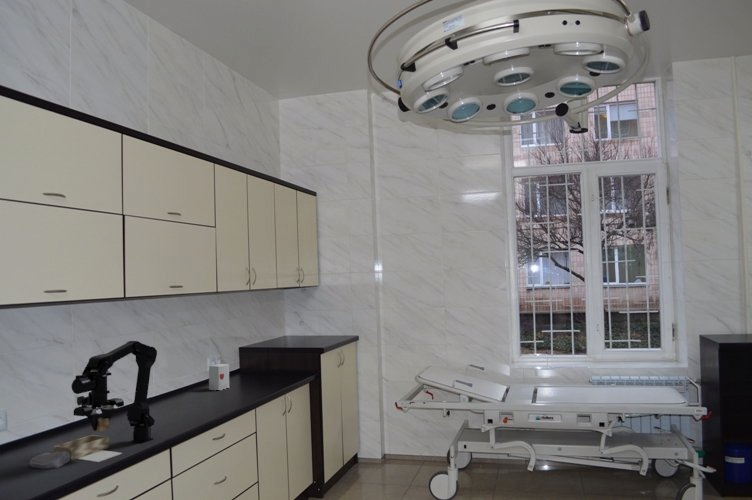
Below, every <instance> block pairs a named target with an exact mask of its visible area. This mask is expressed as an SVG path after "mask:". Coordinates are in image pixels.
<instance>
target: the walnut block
mask: <svg viewBox="0 0 752 500" xmlns="http://www.w3.org/2000/svg"><path fill="white" fill-rule="evenodd" d="M109 422H110V420H109V418H103V417H100V416H99V417H98V425H97V430H96V431H95V432H102V431H105V430H109V429H110V427H109V426H110V425H109V424H110V423H109ZM90 431H94V430H93V428H92V425H91V424H90Z"/></svg>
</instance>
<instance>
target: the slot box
mask: <svg viewBox="0 0 752 500" xmlns="http://www.w3.org/2000/svg"><path fill="white" fill-rule="evenodd" d="M106 449H110V436H107V435H99V434H98V435H96V434H90V435H87V436H84V437H81V438H77V439H74V440H70V441H67V442H64V443H61V444H57V445H54V446H53V453H57V452H61V451H66V452H69V454H70V461H71V462H72V461H74V460H79V459H78V458H81V457H84V456H87V455H90V454H93V453H96V452H99V451H102V450H104V451H106ZM70 461H69V462H70Z"/></svg>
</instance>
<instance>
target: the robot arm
mask: <svg viewBox="0 0 752 500" xmlns="http://www.w3.org/2000/svg"><path fill="white" fill-rule="evenodd" d="M157 350H158V349H156V348H155V347H154V346H150V345H147V344H144V343H142V342H140V341H138V340H129V341H127V342H126V343H125V344H122V345H119V346H118V347H116V348H114V349H113V350H111V351H110V350H109V352H107V353H102V354H97V355H94V356H90V358H89V359H88V362H87V364H86V366H85V368H84V370H83V371H82V372H81V374H77V375H75V379H73V381H72V383H71V390H72V392H73V394H75V395H79V394H83V393H88V396H84V395H80V396H77V398H76V403H77V407H74V409H73V416H77V417H86V418H87V419H88V420H89V423H90V426H91V425H92V428H93V430H94V431H95V432H97V431H96V430H97V425H98V418H99V417H100V416H99V415H100V413H99V412H97V411H99V410H100V411H101V413H102V418H109V421H110V419H111V418H112V416H113V415H114V413H115V411H116V410H117V408H120V407H125V406H124V405H125V401H124V399H123V398H119V397H118V398H116V397H115V398H114V397H113V398H110V399H108V394H110V393H111V392H110V390H108V377H109V376H112V374H113V373H112V372H110V371H109V369H111V368H112V367H113V365H114V363H115V362H117V361H120V360H122V359H123V358H125V357H126V356H128V355H130V354H131V355H133V356H135V362H136V365H137V367H138V370H137V377H136V384H135V392H134V400H133V402H132V404H131V405H128V407H127V413H126V417H127V421H128V422H129V426H130V428H131V427H133V432H132V437H133V438H132V440H131V442H132V443H141V444H143V443H146V442H148V441H151V440H154V439H155V438H154V437H152V429H151V428H152V426H154V425H155V423H156V420H155V419H154V418H153V417H152V416H151V415H150V407H149V404H148V402H147V401H148V394H149V385H150V378H151V377H150V376H151V370H152V367H153V365H154V364H155V363H156V360H157V354H158V351H157ZM115 406H116V407H117V408H115ZM93 430H92V431H93Z"/></svg>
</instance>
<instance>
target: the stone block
mask: <svg viewBox="0 0 752 500" xmlns="http://www.w3.org/2000/svg"><path fill="white" fill-rule="evenodd" d="M68 462H70V454H69V452H66V451H61V452H57V453H54V452H52V453H51V452H48V451H47V452H46V451H45V452H43V453H41V454H38V455H36V456H33V457H32V458H31V460H30V462H29V466H30V467H31V468H37V469H57V468H60V467H62V466H64V465H66V464H67V463H68Z"/></svg>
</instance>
